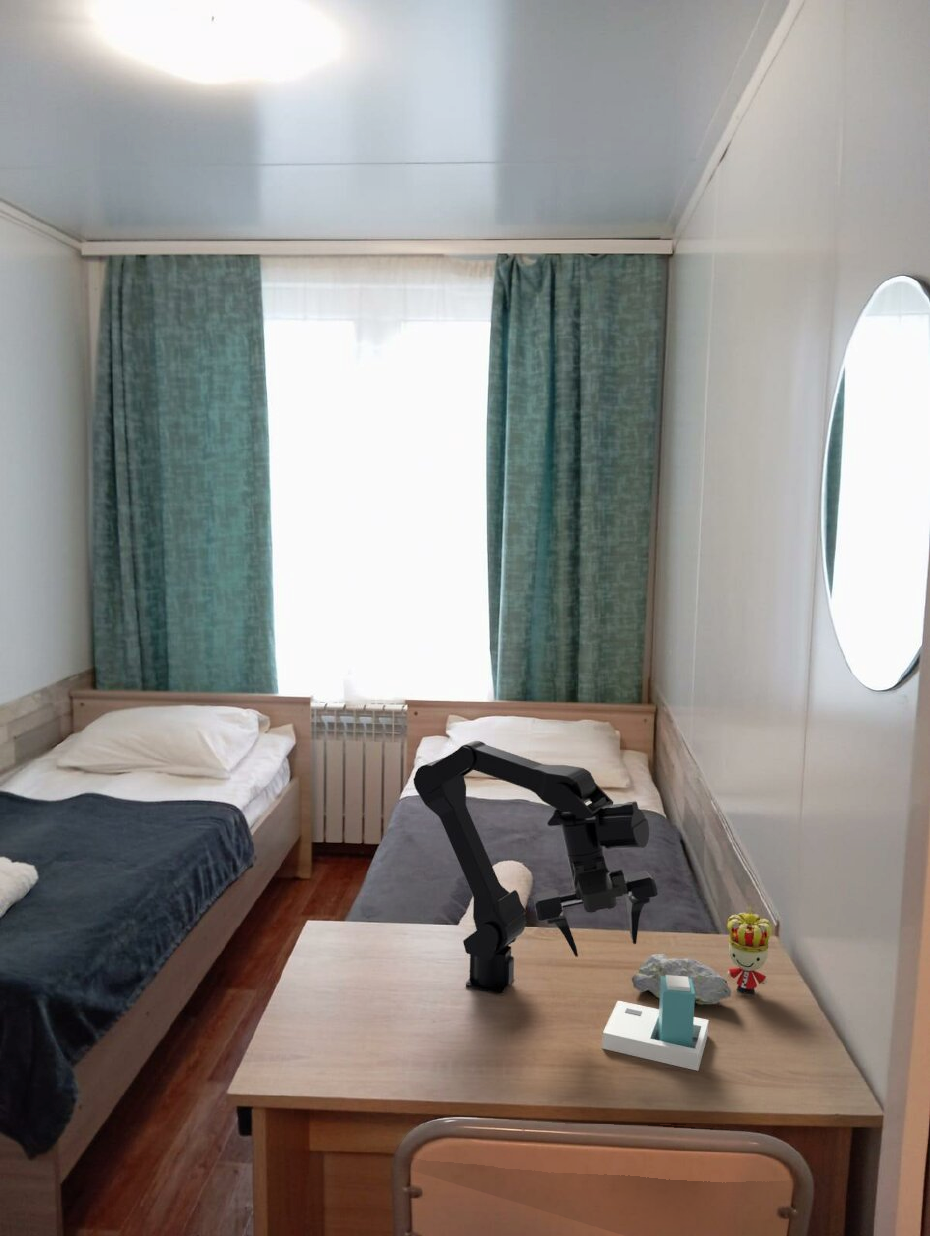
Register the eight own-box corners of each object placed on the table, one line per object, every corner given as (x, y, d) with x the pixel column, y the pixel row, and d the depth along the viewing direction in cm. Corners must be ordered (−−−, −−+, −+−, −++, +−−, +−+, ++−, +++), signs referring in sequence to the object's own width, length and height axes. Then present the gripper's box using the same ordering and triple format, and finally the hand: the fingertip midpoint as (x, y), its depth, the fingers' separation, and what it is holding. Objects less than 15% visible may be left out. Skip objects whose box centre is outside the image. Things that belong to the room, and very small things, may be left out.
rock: (735, 998, 157) (738, 959, 156) (728, 1019, 150) (730, 978, 150) (643, 976, 163) (644, 939, 163) (631, 995, 157) (633, 957, 156)
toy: (720, 996, 157) (725, 909, 155) (726, 976, 164) (731, 893, 162) (766, 1005, 154) (771, 917, 153) (769, 985, 161) (775, 900, 159)
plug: (660, 1052, 140) (663, 987, 138) (657, 1035, 144) (660, 972, 143) (691, 1054, 139) (695, 989, 138) (688, 1037, 143) (691, 974, 142)
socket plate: (602, 1048, 141) (602, 1031, 141) (617, 1015, 150) (617, 999, 150) (698, 1070, 136) (699, 1053, 136) (707, 1035, 145) (708, 1019, 145)
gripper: (530, 875, 140) (552, 980, 139) (654, 849, 140) (676, 954, 140) (524, 858, 151) (544, 955, 151) (639, 834, 151) (659, 931, 151)
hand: (605, 949), depth 148 cm, fingers open, 9 cm apart
